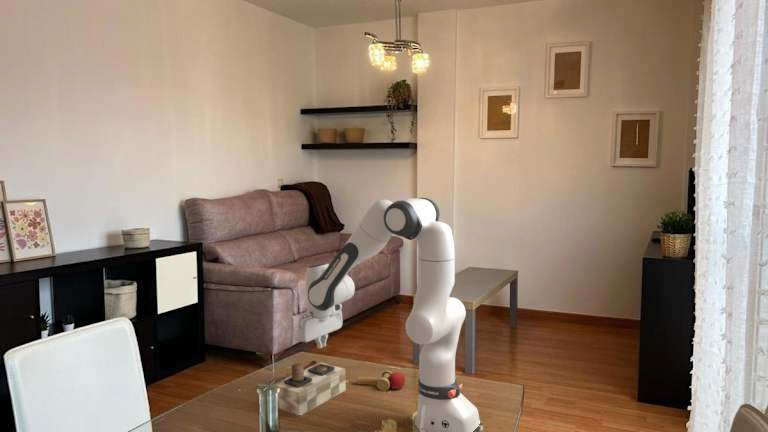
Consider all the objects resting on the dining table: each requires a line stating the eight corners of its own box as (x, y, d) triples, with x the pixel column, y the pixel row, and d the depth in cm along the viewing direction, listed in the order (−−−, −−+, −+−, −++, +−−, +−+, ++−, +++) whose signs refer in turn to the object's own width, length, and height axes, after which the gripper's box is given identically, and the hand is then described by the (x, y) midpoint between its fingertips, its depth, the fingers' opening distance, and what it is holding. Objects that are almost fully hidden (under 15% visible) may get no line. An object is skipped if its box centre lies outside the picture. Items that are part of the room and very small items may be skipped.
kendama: (354, 392, 207) (402, 391, 202) (353, 375, 208) (400, 373, 203) (362, 388, 215) (408, 386, 209) (360, 371, 215) (406, 368, 210)
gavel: (304, 355, 234) (328, 356, 232) (304, 366, 234) (328, 367, 232) (286, 371, 214) (311, 373, 212) (286, 383, 214) (311, 385, 212)
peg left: (306, 388, 195) (306, 364, 194) (298, 392, 192) (297, 368, 191) (298, 386, 197) (297, 362, 196) (289, 390, 194) (289, 366, 193)
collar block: (345, 390, 206) (345, 366, 205) (299, 416, 187) (298, 389, 186) (320, 383, 213) (319, 359, 212) (273, 407, 193) (272, 381, 192)
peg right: (330, 390, 205) (329, 367, 204) (322, 394, 202) (322, 371, 201) (321, 388, 207) (320, 365, 206) (314, 391, 204) (313, 369, 203)
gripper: (306, 317, 191) (308, 357, 192) (344, 303, 207) (346, 340, 209) (292, 315, 194) (294, 354, 196) (331, 301, 211) (333, 337, 213)
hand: (321, 347), depth 203 cm, fingers closed
